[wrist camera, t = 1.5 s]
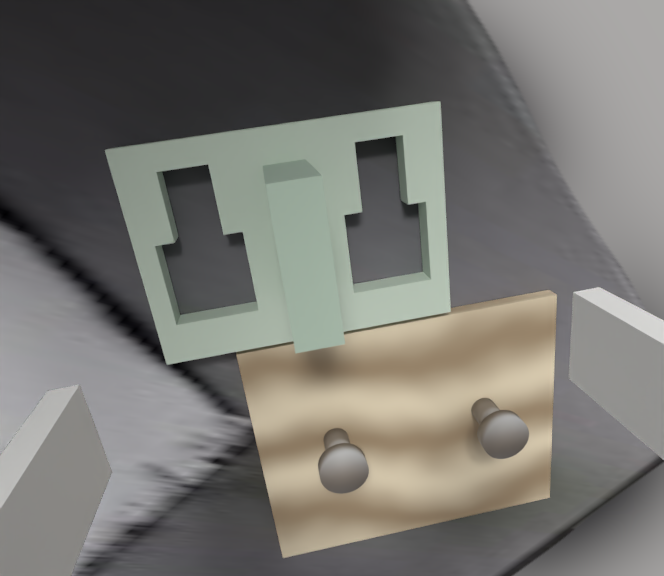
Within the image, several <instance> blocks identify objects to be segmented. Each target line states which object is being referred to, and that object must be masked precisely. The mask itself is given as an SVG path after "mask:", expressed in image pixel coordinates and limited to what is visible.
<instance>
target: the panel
mask: <svg viewBox="0 0 664 576" xmlns="http://www.w3.org/2000/svg"><path fill="white" fill-rule="evenodd" d="M393 136H396V148H397V160H398V173H399V185H400V197H401V201H403V202H405V203H406V204H408V205H409V204H415V203H418V209H419V224H420V238H421V253H422V267H423V272H419V273H413V274H408V275H402V276H396V277H391V278H385V279H379V280H374V281H368V282H362V283H357V284H353V281H352V273H351V265H350V257H349V249H348V241H347V233H346V225H345V217H344V215H348V214H354V213H360V212H362V204H361V195H360V186H359V177H358V168H357V159H356V150H355V142H360V141H367V140H373V139H380V138H387V137H393ZM105 153H106V157H107V160H108V164H109V167H110V170H111V174H112V177H113V181H114V184H115V188H116V191H117V195H118V198H119V202H120V205H121V208H122V212H123V215H124V219H125V222H126V226H127V229H128V233H129V236H130V240H131V243H132V246H133V250H134V253H135V257H136V260H137V264H138V267H139V271H140V274H141V277H142V281H143V284H144V288H145V291H146V295H147V298H148V302H149V305H150V309H151V312H152V315H153V319H154V322H155V326H156V329H157V333H158V336H159V340H160V343H161V346H162V350H163V353H164V357H165V360H166V364H167V365H168V364H174V363H179V362H185V361H190V360H195V359H201V358H206V357H211V356H217V355H222V354H227V353H233V352H238V351H244V350H249V349H254V348H260V347H265V346H270V345H276V344H281V343H286V342H292V341H293V342H294V347H295V353H301V352H306V351H312V350H317V349H322V348H327V347H333V346H338V345H343V344H345V339H344V332H345V331H351V330H356V329H362V328H367V327H372V326H378V325H383V324H388V323H394V322H399V321H404V320H410V319H415V318H421V317H426V316H431V315H437V314H442V313H447V312H451V307H450V287H449V266H448V246H447V225H446V205H445V184H444V164H443V144H442V123H441V103H440V101H438V102H426V103H419V104H412V105H406V106H399V107H392V108H385V109H378V110H371V111H364V112H357V113H350V114H343V115H337V116H330V117H323V118H316V119H309V120H302V121H295V122H288V123H281V124H274V125H268V126H261V127H254V128H247V129H240V130H233V131H226V132H219V133H212V134H205V135H199V136H192V137H185V138H178V139H171V140H164V141H157V142H150V143H143V144H136V145H130V146H123V147H116V148H111V149H107V150H105ZM207 164H208V166H209V170H210V175H211V179H212V184H213V189H214V193H215V198H216V202H217V207H218V212H219V216H220V221H221V225H222V230H223V234H224V235H226V234H232V233H238V232H243V236H244V241H245V246H246V251H247V256H248V261H249V265H250V270H251V275H252V280H253V285H254V290H255V295H256V300H257V301H256V302H250V303H244V304H239V305H233V306H227V307H222V308H216V309H211V310H205V311H199V312H194V313H188V314H182V315H180V312H179V308H178V305H177V301H176V297H175V293H174V290H173V286H172V282H171V278H170V275H169V271H168V267H167V263H166V260H165V256H164V252H163V249H162V245H165V244H171V243H175V241H176V240H177V238H178V232H177V228H176V224H175V220H174V216H173V212H172V208H171V204H170V200H169V196H168V192H167V189H166V185H165V181H164V177H163V173H162V171H168V170H174V169H181V168H187V167H194V166H201V165H207Z"/></svg>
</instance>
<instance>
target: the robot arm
mask: <svg viewBox="0 0 664 576" xmlns="http://www.w3.org/2000/svg"><path fill="white" fill-rule="evenodd" d="M569 379H570V380H571V381H572V382H573V383H574V384H576V385H577V386H578V387H579V388H580V389H581V390H583V391H584V392H585V393H586V394H587V395H588V396H590V397H591V398H592V399H593V400H594V401H595V402H597V403H598V404H599V405H600V406H601V407H602V408H604V409H605V410H606V411H607V412H608V413H609V414H611V415H612V416H613V417H614V418H615V419H616V420H618V421H619V422H620V423H621V424H622V425H623V426H625V427H626V428H627V429H628V430H629V431H630V432H632V433H633V434H634V435H635V436H636V437H637V438H639V439H640V440H641V441H642V442H643V443H644V444H646V445H647V446H648V447H649V448H650V449H651V450H653V451H654V452H655V453H656V454H657V455H658V456H660V457H661V458H662V459H663V460H664V321H663V320H662V319H660V318H658V317H656V316H654V315H652V314H650V313H648V312H646V311H644V310H642V309H640V308H638V307H636V306H635V305H633V304H631V303H629V302H627V301H625V300H623V299H621V298H619V297H617V296H615V295H613V294H611V293H609V292H607V291H606V290H604V289H602V288H600V287H598V288H593V289H588V290H582V291H577V292H573V307H572V327H571V346H570V366H569ZM111 473H112V470H111V468H110V465H109V462H108V460H107V457H106V454H105V451H104V449H103V446H102V443H101V441H100V438H99V435H98V433H97V430H96V427H95V424H94V422H93V419H92V416H91V414H90V411H89V408H88V406H87V403H86V400H85V398H84V395H83V392H82V389H81V387H80V384H79V385H74V386H69V387H63V388H58V389H53V390H48V391H47V392H46V394H45V395H44V396H43V398H42V399H41V400H40V402H39V403H38V404H37V406H36V407H35V409H34V410H33V411H32V413H31V414H30V415H29V417H28V418H27V419H26V421H25V422H24V423H23V425H22V426H21V428H20V429H19V430H18V432H17V433H16V434H15V436H14V437H13V438H12V440H11V441H10V443H9V444H8V445H7V447H6V448H5V449H4V451H3V452H2V453H1V455H0V576H71V575H72V573H73V570H74V567H75V565H76V562H77V560H78V557H79V555H80V552H81V550H82V547H83V545H84V542H85V540H86V537H87V534H88V532H89V529H90V527H91V524H92V522H93V519H94V517H95V514H96V512H97V509H98V506H99V504H100V501H101V499H102V496H103V494H104V491H105V489H106V486H107V484H108V481H109V478H110V476H111Z"/></svg>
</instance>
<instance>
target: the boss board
mask: <svg viewBox="0 0 664 576" xmlns="http://www.w3.org/2000/svg"><path fill="white" fill-rule="evenodd" d="M556 306H557V295H556V294H555V293H553V292H552V291H550V290H545V291H540V292H534V293H529V294H524V295H518V296H513V297H507V298H502V299H497V300H491V301H486V302H480V303H475V304H470V305H464V306H459V307H454V308H451V312H447V313H442V314H437V315H431V316H426V317H421V318H415V319H410V320H404V321H399V322H394V323H388V324H383V325H378V326H372V327H367V328H362V329H356V330H351V331H345V332H344V339H345V344H343V345H338V346H333V347H327V348H322V349H317V350H312V351H306V352H301V353H295V347H294V342H293V341H292V342H286V343H281V344H276V345H270V346H265V347H260V348H254V349H249V350H244V351H238V352H236V356H237V360H238V364H239V369H240V373H241V377H242V382H243V386H244V391H245V395H246V399H247V404H248V408H249V412H250V417H251V421H252V425H253V430H254V434H255V438H256V443H257V447H258V452H259V456H260V460H261V465H262V469H263V473H264V478H265V482H266V486H267V491H268V495H269V499H270V504H271V508H272V513H273V517H274V521H275V526H276V530H277V534H278V539H279V543H280V547H281V552H282V556H283V558H286V557H290V556H295V555H299V554H304V553H308V552H312V551H317V550H321V549H326V548H330V547H334V546H339V545H343V544H348V543H352V542H356V541H361V540H365V539H370V538H374V537H378V536H383V535H387V534H392V533H396V532H400V531H405V530H409V529H414V528H418V527H422V526H427V525H431V524H436V523H440V522H445V521H449V520H453V519H458V518H462V517H467V516H471V515H475V514H480V513H484V512H489V511H493V510H497V509H502V508H506V507H511V506H515V505H519V504H524V503H528V502H533V501H537V500H541V499H546V498H550V473H551V445H552V418H553V390H554V362H555V334H556Z"/></svg>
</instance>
